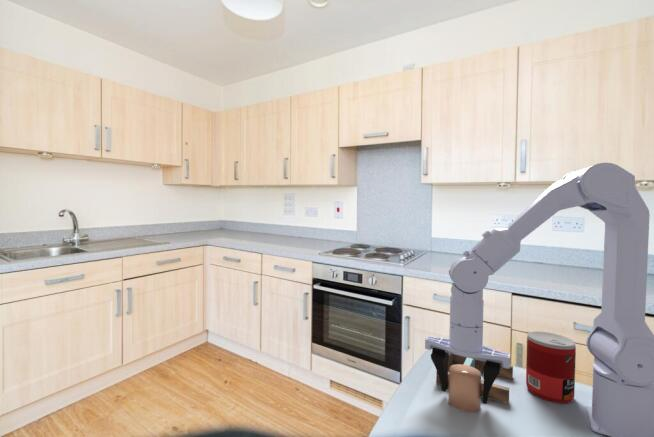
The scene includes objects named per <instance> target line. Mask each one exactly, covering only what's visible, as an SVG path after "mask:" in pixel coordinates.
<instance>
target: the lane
mask: <svg viewBox="0 0 654 437" xmlns="http://www.w3.org/2000/svg"><path fill="white" fill-rule="evenodd" d="M466 358H467V357H463V356H459V355H455V354H451V353H449V360H448V388H449V367H450V366H452V365H455V364H462V365H463V364H464V362H465V360H466ZM484 365H485V362H484V361H480V360H476V359H475V368H476V369H477V370H479V371H480V372H481V373H483V367H484ZM497 377H502V378H506V379H510V380H513V378H514V365H512V364H510V368H509V369H507V368H504V367H502V366H501V368H500V372H499V374H498V376H497ZM435 378H436V382H435V383H436V384H438V385H441V383H440V379H439V376H438V372H437V371H436V377H435ZM483 389H484V380H481V398H483ZM488 400H493V401H497V402H500V403H504V404H507V405H509V403H510V387H507V386H503V385H500V384H496V383H493V385H492V387H491V389H490V392H489V396H488Z"/></svg>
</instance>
